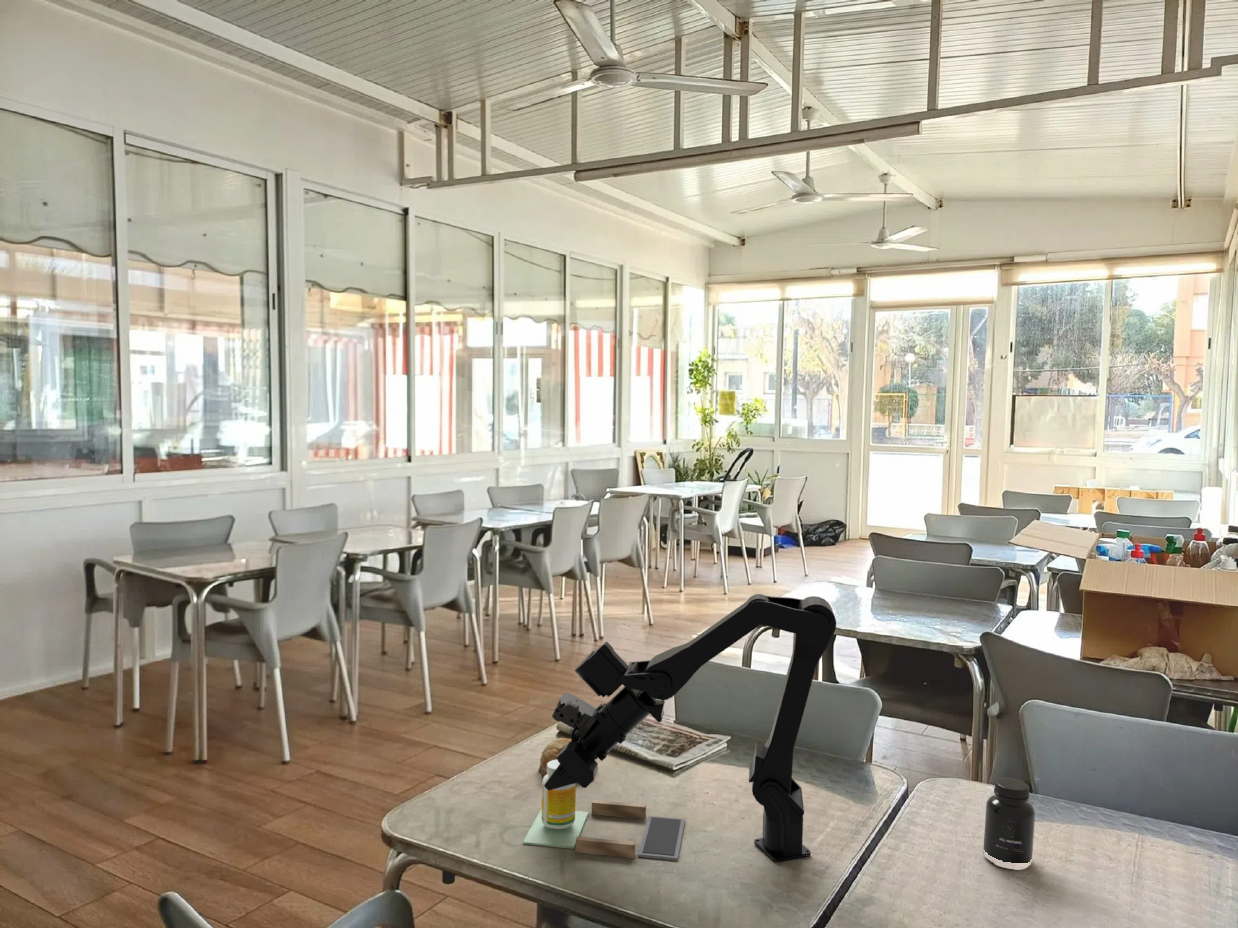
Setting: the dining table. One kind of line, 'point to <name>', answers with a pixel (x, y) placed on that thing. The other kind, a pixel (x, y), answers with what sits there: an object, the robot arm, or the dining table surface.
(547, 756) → the bread roll
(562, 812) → the supplement bottle
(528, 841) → the pad
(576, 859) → the dining table surface
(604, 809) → the walnut channel
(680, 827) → the pit rectangle
